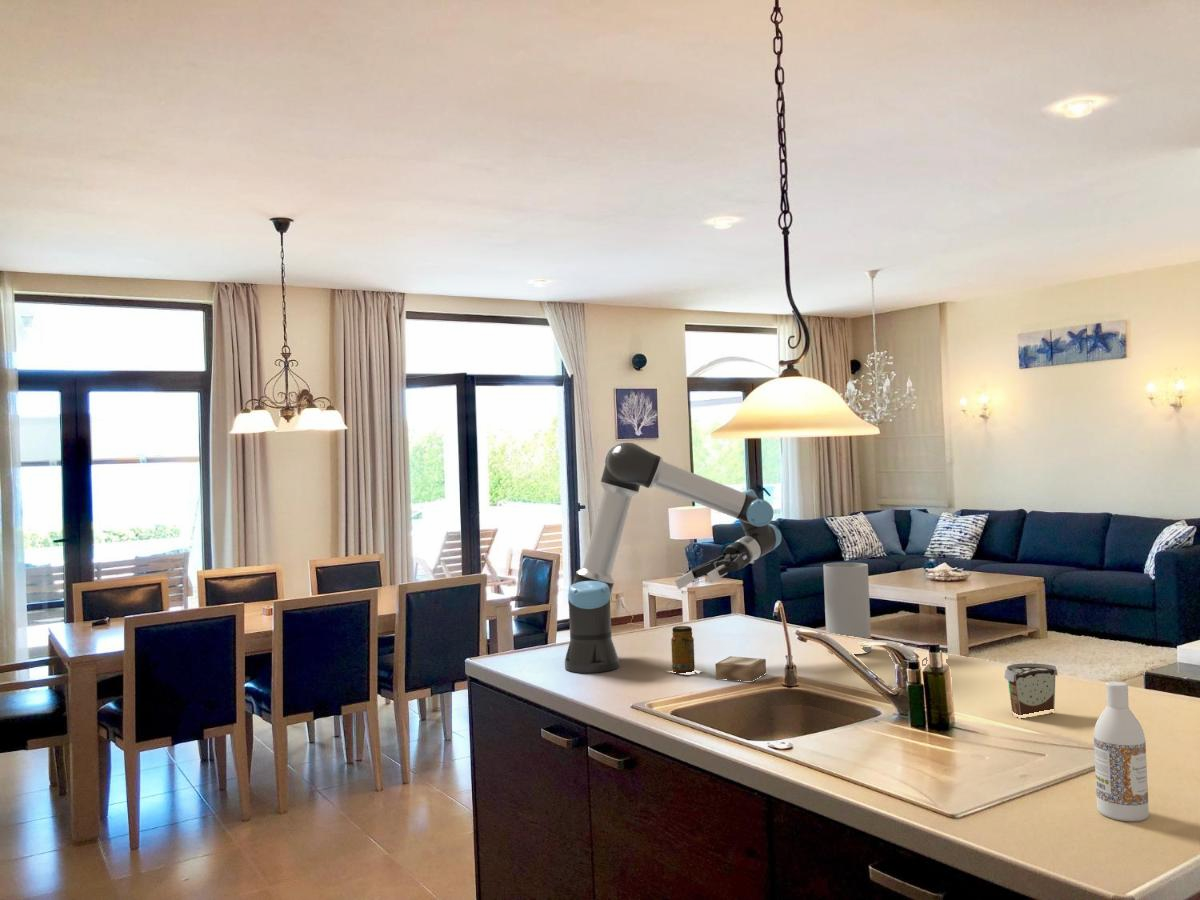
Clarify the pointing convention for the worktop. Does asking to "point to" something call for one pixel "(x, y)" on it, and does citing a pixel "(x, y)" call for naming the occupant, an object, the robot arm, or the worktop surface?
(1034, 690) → the food container
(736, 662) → the plinth
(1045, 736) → the worktop surface
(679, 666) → the condiment
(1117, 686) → the bath foam
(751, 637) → the worktop surface
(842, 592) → the cylinder vase
